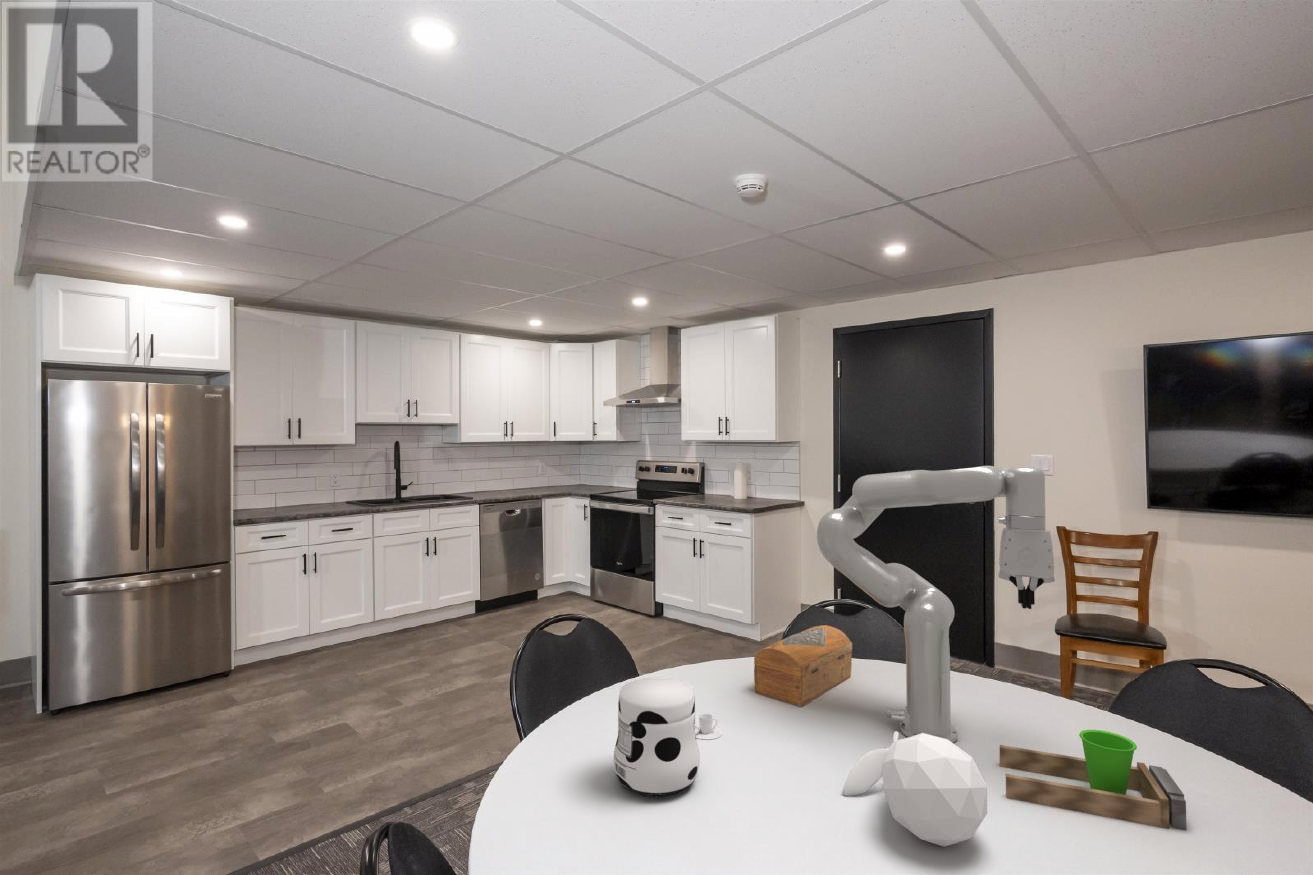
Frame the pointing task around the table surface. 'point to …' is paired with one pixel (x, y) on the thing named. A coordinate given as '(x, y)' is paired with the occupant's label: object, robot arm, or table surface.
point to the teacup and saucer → (707, 727)
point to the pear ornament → (925, 787)
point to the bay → (1154, 785)
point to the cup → (1107, 760)
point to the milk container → (656, 736)
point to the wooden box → (803, 665)
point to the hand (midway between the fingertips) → (1026, 607)
